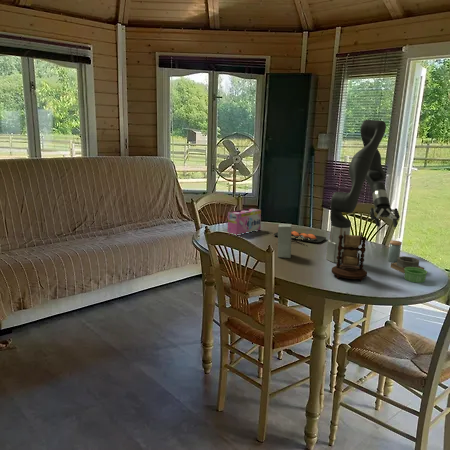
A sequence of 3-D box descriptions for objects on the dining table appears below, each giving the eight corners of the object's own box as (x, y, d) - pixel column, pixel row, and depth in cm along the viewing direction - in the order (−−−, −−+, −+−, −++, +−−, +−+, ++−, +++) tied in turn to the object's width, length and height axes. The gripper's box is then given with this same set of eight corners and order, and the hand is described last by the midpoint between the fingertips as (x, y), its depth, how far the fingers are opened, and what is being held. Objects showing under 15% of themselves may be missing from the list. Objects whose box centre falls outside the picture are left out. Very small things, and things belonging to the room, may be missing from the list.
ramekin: (428, 279, 175) (430, 270, 174) (422, 285, 169) (423, 275, 168) (407, 274, 181) (408, 265, 180) (400, 279, 174) (401, 270, 174)
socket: (406, 274, 181) (407, 263, 180) (390, 267, 190) (391, 257, 189) (423, 272, 185) (425, 261, 184) (407, 265, 194) (408, 255, 193)
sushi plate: (327, 240, 239) (327, 234, 238) (308, 251, 214) (309, 244, 213) (282, 233, 254) (282, 227, 253) (259, 242, 229) (259, 236, 228)
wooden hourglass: (364, 272, 182) (369, 229, 178) (368, 284, 168) (373, 237, 164) (330, 269, 185) (334, 226, 181) (331, 280, 171) (335, 234, 167)
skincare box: (290, 258, 200) (292, 227, 196) (275, 257, 201) (277, 226, 198) (291, 253, 208) (293, 223, 204) (277, 252, 209) (279, 222, 206)
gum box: (252, 228, 263) (253, 207, 260) (262, 230, 257) (263, 209, 254) (226, 234, 246) (227, 211, 243) (236, 236, 240) (237, 213, 237)
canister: (392, 263, 196) (395, 243, 194) (385, 260, 201) (387, 240, 199) (401, 262, 198) (404, 242, 196) (393, 259, 203) (396, 240, 201)
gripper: (369, 195, 213) (375, 222, 204) (396, 196, 213) (404, 222, 205) (365, 204, 219) (370, 229, 211) (391, 204, 220) (398, 230, 211)
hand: (387, 226), depth 208 cm, fingers open, 8 cm apart
